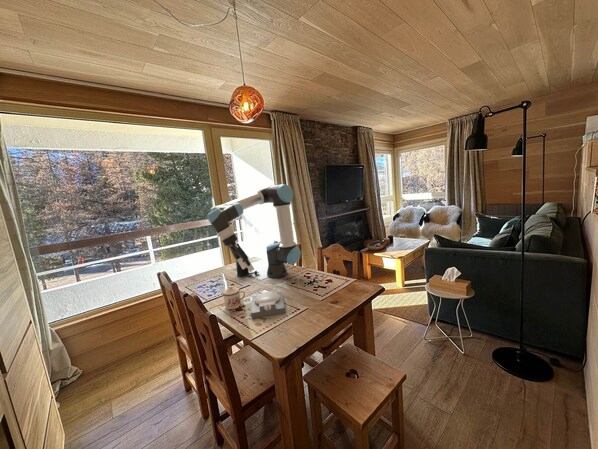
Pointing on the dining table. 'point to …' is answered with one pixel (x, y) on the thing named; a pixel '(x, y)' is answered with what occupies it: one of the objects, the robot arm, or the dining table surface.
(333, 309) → the dining table surface
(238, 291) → the teacup with lid
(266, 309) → the kitchen scale
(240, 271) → the milk frother
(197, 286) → the dining table surface
